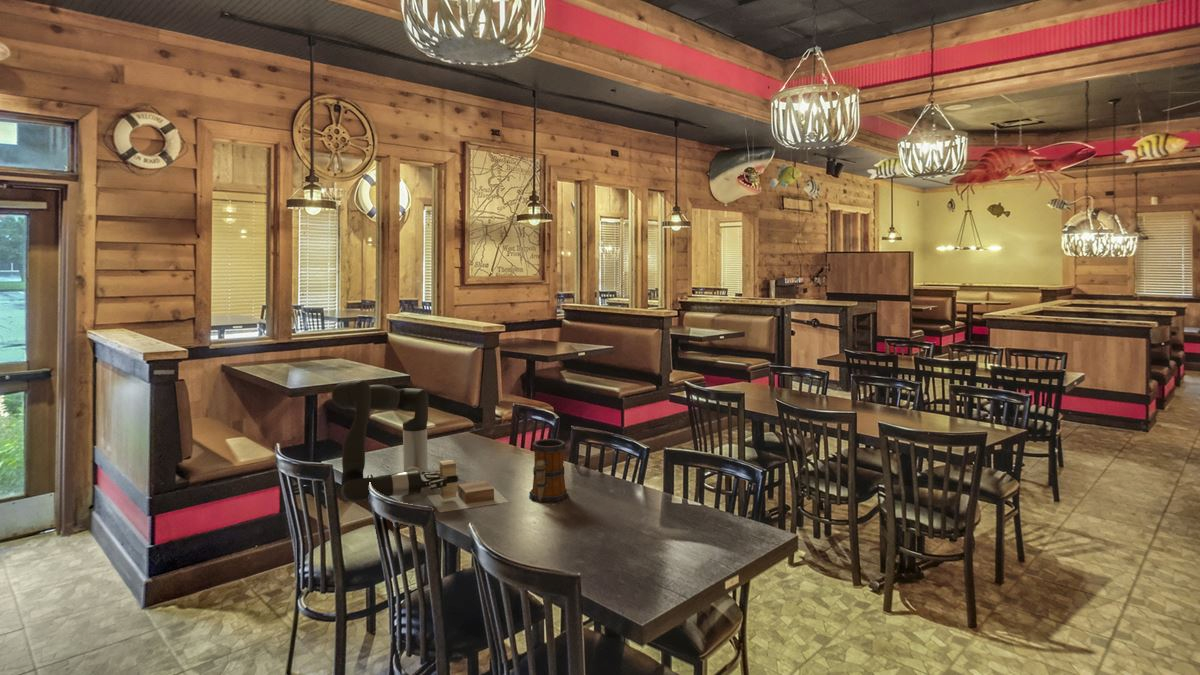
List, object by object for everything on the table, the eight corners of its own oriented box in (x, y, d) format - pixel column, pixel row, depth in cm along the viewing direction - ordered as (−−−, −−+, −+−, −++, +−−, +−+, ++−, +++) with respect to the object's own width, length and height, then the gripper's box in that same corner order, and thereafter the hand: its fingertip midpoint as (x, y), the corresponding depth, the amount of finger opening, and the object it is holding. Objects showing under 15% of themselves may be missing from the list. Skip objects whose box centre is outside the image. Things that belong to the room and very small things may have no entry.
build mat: (427, 497, 243) (427, 495, 243) (492, 488, 254) (492, 486, 254) (439, 513, 227) (439, 512, 227) (508, 503, 238) (508, 501, 238)
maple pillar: (440, 495, 238) (439, 461, 237) (452, 493, 240) (452, 459, 239) (443, 499, 234) (442, 464, 233) (456, 497, 236) (455, 463, 235)
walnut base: (458, 495, 244) (457, 484, 244) (485, 491, 248) (485, 480, 248) (465, 504, 235) (465, 492, 235) (494, 499, 240) (494, 488, 239)
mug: (560, 511, 230) (560, 453, 228) (518, 508, 233) (518, 450, 231) (573, 493, 249) (573, 438, 247) (535, 490, 252) (535, 436, 250)
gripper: (409, 478, 223) (461, 471, 231) (400, 466, 236) (450, 460, 244) (410, 500, 224) (461, 493, 232) (401, 487, 237) (450, 480, 245)
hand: (455, 476), depth 238 cm, fingers closed on maple pillar, 4 cm apart
